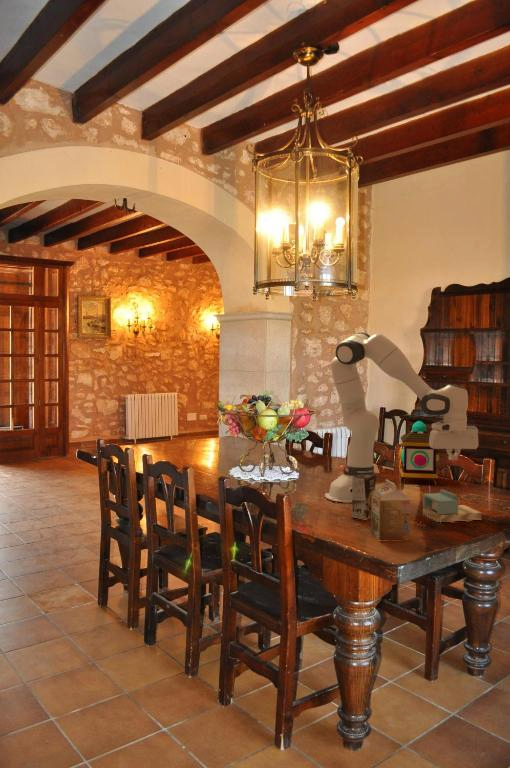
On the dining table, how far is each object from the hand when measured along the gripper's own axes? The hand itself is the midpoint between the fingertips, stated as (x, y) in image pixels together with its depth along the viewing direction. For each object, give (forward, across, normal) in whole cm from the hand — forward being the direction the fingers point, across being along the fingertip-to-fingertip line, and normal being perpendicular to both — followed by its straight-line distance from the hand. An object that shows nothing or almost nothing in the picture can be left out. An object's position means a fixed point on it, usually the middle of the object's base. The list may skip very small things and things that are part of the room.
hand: (452, 459), depth 244 cm
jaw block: (+21, +10, +8) cm, 24 cm away
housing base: (+21, +4, +8) cm, 23 cm away
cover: (+18, +9, +9) cm, 22 cm away
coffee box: (+22, +37, +1) cm, 44 cm away
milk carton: (+22, +38, +26) cm, 51 cm away
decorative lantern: (+21, -16, -56) cm, 61 cm away
